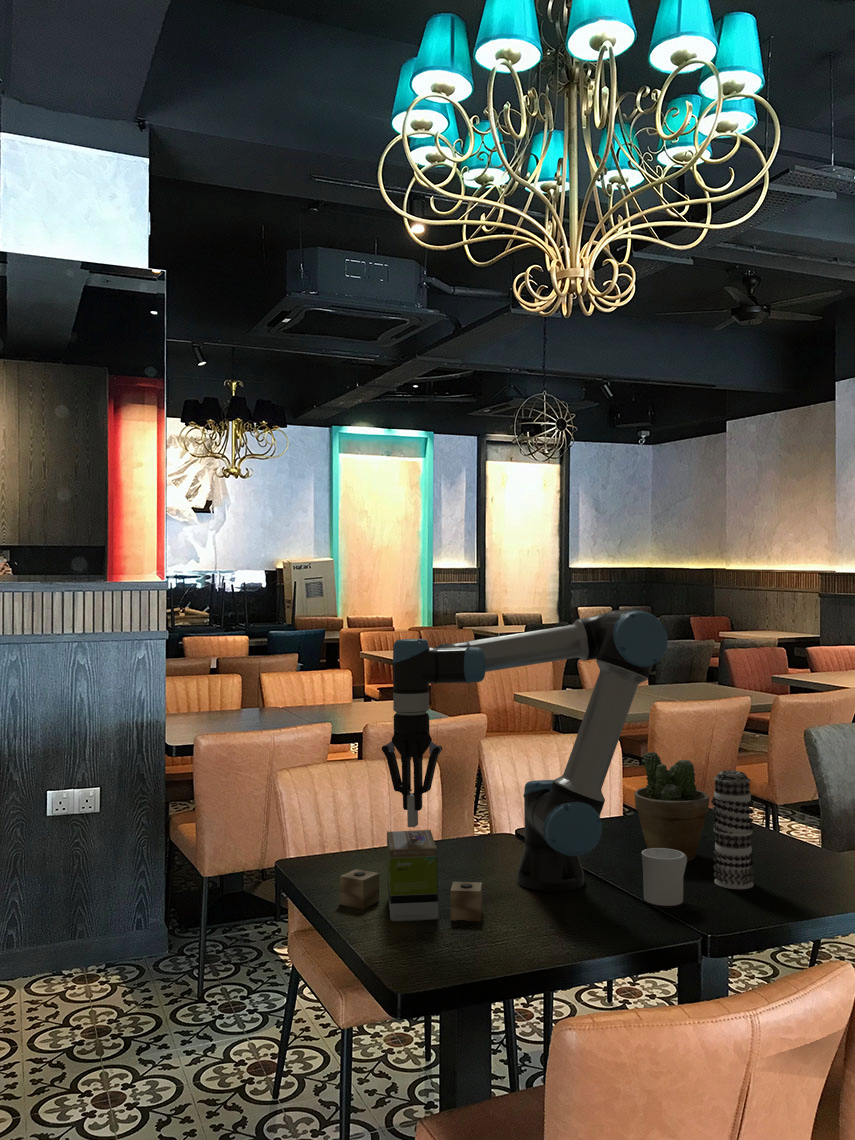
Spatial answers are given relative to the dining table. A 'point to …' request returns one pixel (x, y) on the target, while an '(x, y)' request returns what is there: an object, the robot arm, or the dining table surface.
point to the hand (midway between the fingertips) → (412, 825)
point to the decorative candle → (733, 830)
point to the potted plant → (671, 806)
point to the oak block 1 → (359, 888)
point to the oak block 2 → (466, 901)
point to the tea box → (412, 875)
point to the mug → (663, 876)
